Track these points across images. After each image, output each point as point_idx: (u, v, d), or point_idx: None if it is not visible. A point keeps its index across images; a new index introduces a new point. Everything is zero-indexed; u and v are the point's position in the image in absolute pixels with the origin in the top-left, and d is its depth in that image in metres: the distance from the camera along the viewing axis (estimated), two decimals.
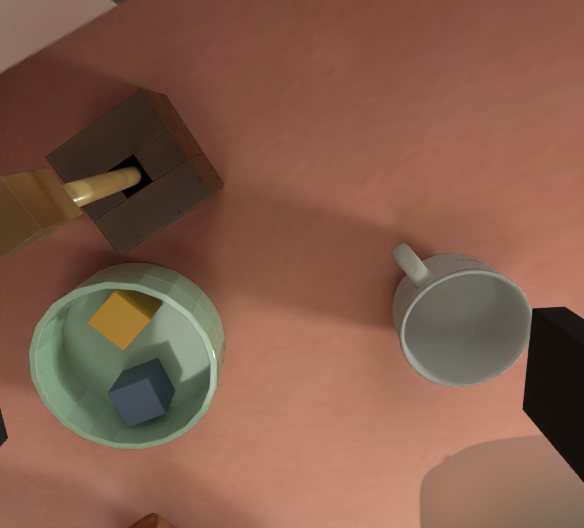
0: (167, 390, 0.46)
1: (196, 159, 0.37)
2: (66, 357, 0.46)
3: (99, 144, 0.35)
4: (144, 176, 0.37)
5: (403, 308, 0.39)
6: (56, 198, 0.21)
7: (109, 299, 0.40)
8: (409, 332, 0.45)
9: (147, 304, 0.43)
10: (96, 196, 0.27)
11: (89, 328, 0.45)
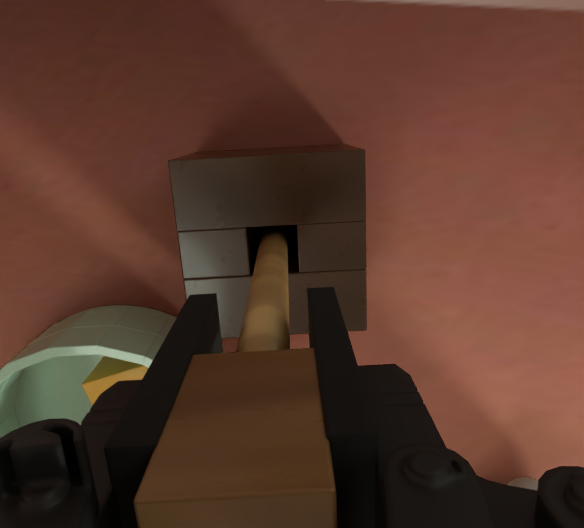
0: None
1: None
2: (16, 389, 0.31)
3: (257, 186, 0.22)
4: None
5: None
6: None
7: (132, 371, 0.27)
8: None
9: None
10: None
11: (70, 370, 0.31)
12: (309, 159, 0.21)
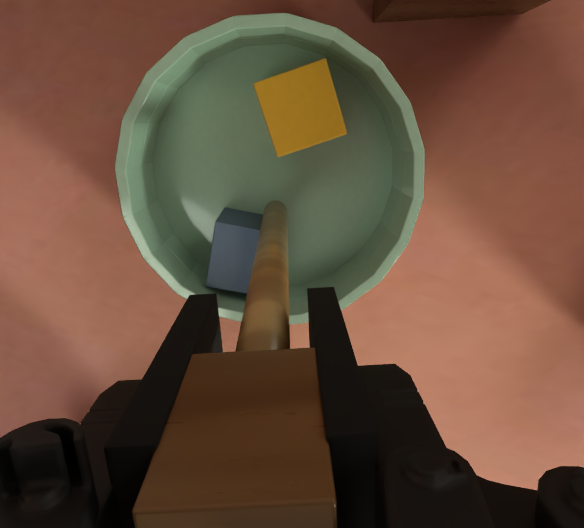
0: None
1: None
2: (155, 135, 0.29)
3: None
4: None
5: None
6: None
7: (310, 66, 0.24)
8: None
9: None
10: None
11: (216, 111, 0.29)
12: None
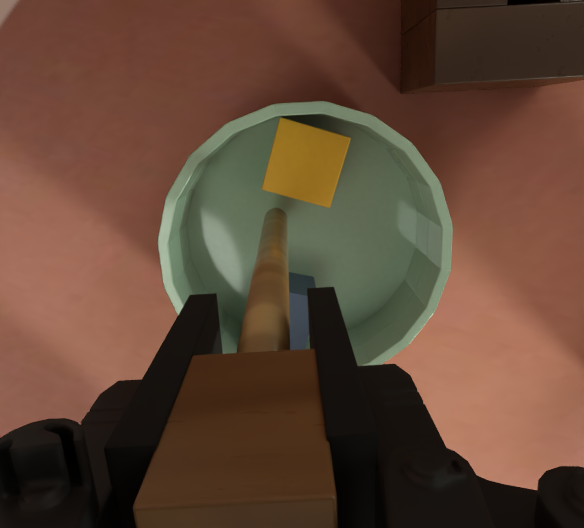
0: None
1: None
2: (190, 199, 0.30)
3: None
4: None
5: None
6: None
7: (334, 136, 0.25)
8: None
9: None
10: None
11: (249, 177, 0.30)
12: None
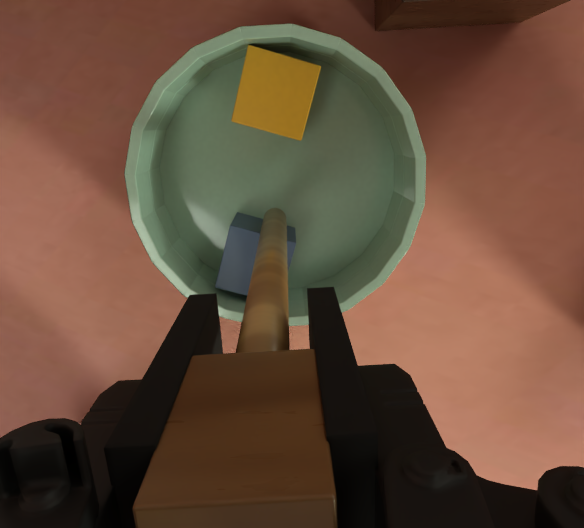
0: None
1: None
2: (163, 141, 0.30)
3: None
4: None
5: None
6: None
7: (304, 64, 0.25)
8: None
9: None
10: None
11: (222, 118, 0.29)
12: None
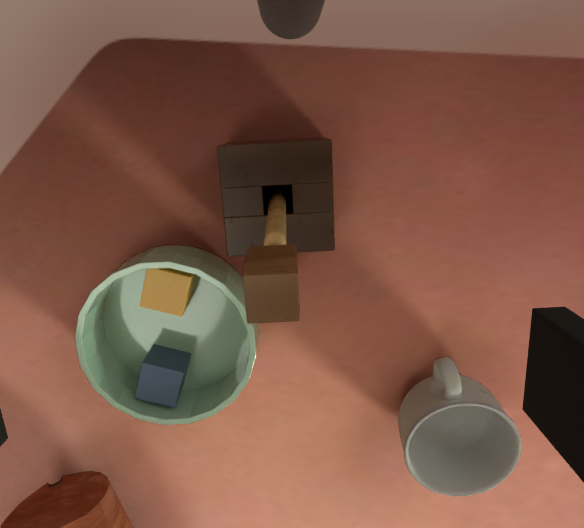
0: (182, 385, 0.48)
1: None
2: (104, 303, 0.47)
3: (269, 161, 0.37)
4: None
5: (423, 409, 0.44)
6: None
7: (181, 276, 0.42)
8: None
9: (188, 298, 0.45)
10: None
11: (141, 289, 0.46)
12: (299, 145, 0.37)
